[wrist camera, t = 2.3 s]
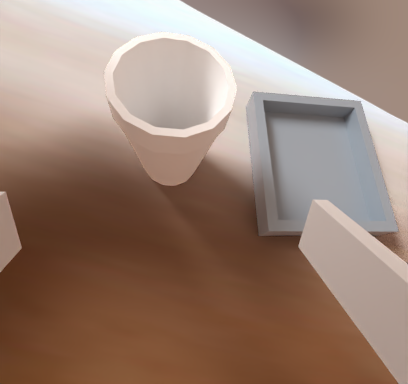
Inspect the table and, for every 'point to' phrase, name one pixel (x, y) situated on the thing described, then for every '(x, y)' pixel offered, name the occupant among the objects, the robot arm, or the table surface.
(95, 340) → the table surface
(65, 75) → the table surface
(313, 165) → the tray
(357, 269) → the robot arm
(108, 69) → the foam cup
